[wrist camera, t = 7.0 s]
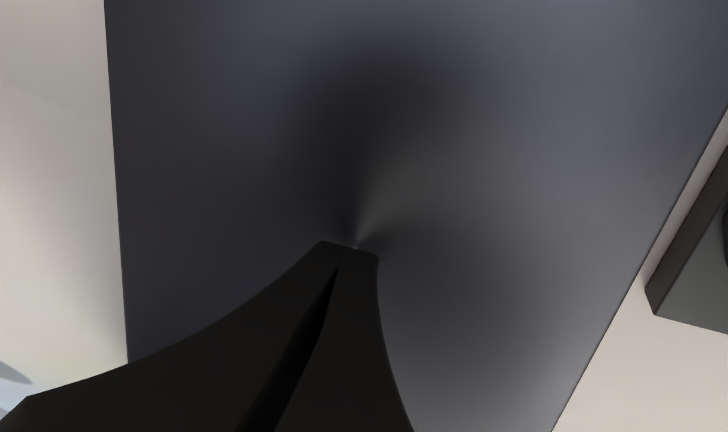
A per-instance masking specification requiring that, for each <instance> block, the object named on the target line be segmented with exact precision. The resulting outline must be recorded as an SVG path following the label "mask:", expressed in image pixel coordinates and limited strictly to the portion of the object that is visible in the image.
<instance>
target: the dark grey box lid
mask: <svg viewBox="0 0 728 432" xmlns="http://www.w3.org/2000/svg"><path fill="white" fill-rule="evenodd" d="M104 12H105V27H106V42H107V57H108V72H109V87H110V102H111V117H112V132H113V148H114V163H115V178H116V193H117V208H118V223H119V238H120V253H121V268H122V283H123V299H124V314H125V329H126V344H127V359H128V363H131V362H133V361H136V360H138V359H141V358H143V357H146V356H148V355H150V354H153V353H155V352H157V351H159V350H161V349H164V348H166V347H168V346H170V345H172V344H174V343H176V342H178V341H180V340H182V339H184V338H186V337H188V336H190V335H192V334H193V333H195V332H197V331H199V330H201V329H203V328H204V327H206V326H208V325H210V324H211V323H213V322H215V321H216V320H218V319H220V318H221V317H223V316H225V315H226V314H228V313H229V312H231V311H232V310H234V309H235V308H237V307H238V306H240V305H241V304H243V303H244V302H246V301H247V300H248V299H250V298H251V297H253V296H254V295H255V294H257V293H258V292H260V291H261V290H262V289H264V288H265V287H266V286H268V285H269V284H270V283H271V282H273V281H274V280H275V279H276V278H278V277H279V276H280V275H281V274H283V273H284V272H285V271H286V270H288V269H289V268H290V267H291V266H292V265H293V264H295V263H296V262H297V261H298V260H299V259H300V258H301V257H302V256H303V255H305V254H306V253H307V252H308V251H309V250H310V249H311V248H312V247H313V246H314V245H315V244H316V243H317V242H319V241H321V240H324V241H328V242H332V243H336V244H339V245H343V246H347V247H351V248H355V249H359V250H362V251H366V252H370V253H374V254H376V255H377V256H378V258H379V259H380V261H379V265H378V272H377V290H378V303H379V311H380V318H381V325H382V330H383V335H384V340H385V345H386V349H387V353H388V357H389V361H390V365H391V369H392V372H393V375H394V379H395V382H396V385H397V388H398V391H399V394H400V397H401V399H402V402H403V405H404V408H405V411H406V413H407V416H408V418H409V420H410V423H411V425H412V427H413V429H414V432H552V430H553V429H554V427H555V425H556V423H557V421H558V419H559V418H560V416H561V414H562V412H563V410H564V408H565V407H566V405H567V403H568V401H569V399H570V397H571V396H572V394H573V392H574V390H575V388H576V386H577V384H578V383H579V381H580V379H581V377H582V375H583V373H584V372H585V370H586V368H587V366H588V364H589V362H590V361H591V359H592V357H593V355H594V353H595V351H596V350H597V348H598V346H599V344H600V342H601V340H602V339H603V337H604V335H605V333H606V331H607V329H608V328H609V326H610V324H611V322H612V320H613V318H614V316H615V315H616V313H617V311H618V309H619V307H620V305H621V304H622V302H623V300H624V298H625V296H626V294H627V293H628V291H629V289H630V287H631V285H632V283H633V282H634V280H635V278H636V276H637V274H638V272H639V271H640V269H641V267H642V265H643V263H644V261H645V259H646V258H647V256H648V254H649V252H650V250H651V248H652V247H653V245H654V243H655V241H656V239H657V237H658V236H659V234H660V232H661V230H662V228H663V226H664V225H665V223H666V221H667V219H668V217H669V215H670V214H671V212H672V210H673V208H674V206H675V204H676V202H677V201H678V199H679V197H680V195H681V193H682V191H683V190H684V188H685V186H686V184H687V182H688V180H689V179H690V177H691V175H692V173H693V171H694V169H695V168H696V166H697V164H698V162H699V160H700V158H701V157H702V155H703V153H704V151H705V149H706V147H707V145H708V144H709V142H710V140H711V138H712V136H713V134H714V133H715V131H716V129H717V127H718V125H719V123H720V122H721V120H722V118H723V116H724V114H725V112H726V111H727V109H728V0H104Z"/></svg>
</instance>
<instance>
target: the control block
mask: <svg viewBox="0 0 728 432" xmlns="http://www.w3.org/2000/svg"><path fill="white" fill-rule="evenodd" d="M645 294H646V296H647V299H648V302H649V304H650V307H651V310H652V312H653V314H654V315H655V316H659V317H663V318H667V319H671V320H675V321H678V322H682V323H686V324H690V325H694V326H698V327H701V328H705V329H709V330H713V331H717V332H721V333H725V334H728V148H727V149H726V151H725V153H724V155H723V156H722V158H721V160H720V161H719V163H718V165H717V167H716V168H715V170H714V172H713V174H712V175H711V177H710V179H709V180H708V182H707V184H706V186H705V187H704V189H703V191H702V193H701V194H700V196H699V198H698V199H697V201H696V203H695V205H694V206H693V208H692V210H691V211H690V213H689V215H688V217H687V218H686V220H685V222H684V224H683V225H682V227H681V229H680V230H679V232H678V234H677V236H676V237H675V239H674V241H673V243H672V244H671V246H670V248H669V249H668V251H667V253H666V255H665V256H664V258H663V260H662V262H661V263H660V265H659V267H658V268H657V270H656V272H655V274H654V275H653V277H652V279H651V280H650V282H649V284H648V286H647V287H646V289H645Z"/></svg>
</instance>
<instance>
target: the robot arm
mask: <svg viewBox="0 0 728 432" xmlns="http://www.w3.org/2000/svg"><path fill="white" fill-rule="evenodd" d="M379 261H380V259H379V258H378V256H377V255H376V254H374V253H370V252H366V251H362V250H359V249H355V248H351V247H347V246H343V245H339V244H336V243H332V242H328V241H324V240H321V241H319V242H317V243H316V244H315V245H314V246H313V247H312V248H311V249H310V250H309V251H308V252H307V253H306V254H305V255H303V256H302V257H301V258H300V259H299V260H298V261H297V262H296V263H295V264H293V265H292V266H291V267H290V268H289V269H288V270H286V271H285V272H284V273H283V274H281V275H280V276H279V277H278V278H276V279H275V280H274V281H273V282H271V283H270V284H269V285H268V286H266V287H265V288H264V289H262V290H261V291H260V292H258V293H257V294H255V295H254V296H253V297H251V298H250V299H248V300H247V301H246V302H244V303H243V304H241V305H240V306H238V307H237V308H235V309H234V310H232V311H231V312H229V313H228V314H226V315H225V316H223V317H221V318H220V319H218V320H216V321H215V322H213V323H211V324H210V325H208V326H206V327H204V328H203V329H201V330H199V331H197V332H195V333H193V334H192V335H190V336H188V337H186V338H184V339H182V340H180V341H178V342H176V343H174V344H172V345H170V346H168V347H166V348H164V349H161V350H159V351H157V352H155V353H153V354H150V355H148V356H146V357H143V358H141V359H138V360H136V361H133V362H131V363H128V364H126V365H123V366H121V367H118V368H115V369H113V370H110V371H107V372H105V373H102V374H99V375H96V376H93V377H90V378H87V379H84V380H81V381H77V382H74V383H71V384H67V385H64V386H61V387H57V388H54V389H51V390H48V391H44V392H41V393H37V394H34V395H30V396H27V397H25V398H24V399H23V400H22V401H21V402H20V403H19V404H18V405H17V406H16V407H15V408H14V409H12V410H11V411H10V412H9V413H8V414H7V415H6V416H5V417H3V418H2V419H1V420H0V432H414V429H413V427H412V425H411V423H410V420H409V418H408V416H407V413H406V411H405V408H404V405H403V402H402V399H401V397H400V394H399V391H398V388H397V385H396V382H395V379H394V375H393V372H392V369H391V365H390V361H389V357H388V353H387V349H386V345H385V340H384V335H383V330H382V325H381V318H380V311H379V303H378V290H377V272H378V265H379Z"/></svg>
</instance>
